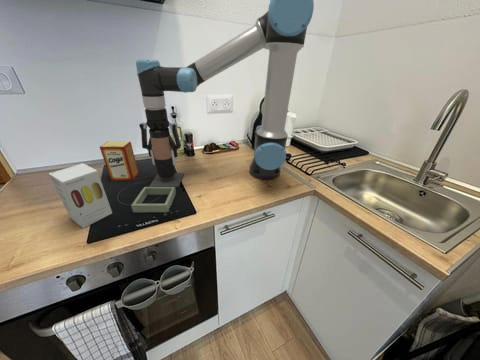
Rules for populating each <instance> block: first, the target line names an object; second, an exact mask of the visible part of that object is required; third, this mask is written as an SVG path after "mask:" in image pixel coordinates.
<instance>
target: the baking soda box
mask: <svg viewBox="0 0 480 360" xmlns="http://www.w3.org/2000/svg"><path fill="white" fill-rule="evenodd" d="M99 149H100V150H99V151H100V152H101V156H102V158H103V160H104V164H105V167H106V170H107V172H108V173H107V174H108V176H109V178H110V181H134V180H135V179H136V177H137V176H138V175H139V170H138V165H137V164H138V163H137V161H136V157H135V153H134V149H133V145H132V142H131V141H125V140H124V141H123V140H122V141H108V140H107V141H106V142H104V143H103V144H102V145H100V146H99Z"/></svg>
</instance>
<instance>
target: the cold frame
mask: <svg viewBox="0 0 480 360" xmlns="http://www.w3.org/2000/svg"><path fill="white" fill-rule="evenodd" d="M148 195H149V196H150V195H151V196H152V195H155V196H156V195H161V196H162V195H164V196H165V195H166V196H167V195H168V196H167V198H166V201H165V202H164V203H143V202H144V201H145V199H146V197H147V196H148ZM176 195H177V190H176V187H150V186H144V187H143V188H142V189H141V191H140V192H139V194H138V195H137V196H136V198H135V199H134V201H133V202H132V203H131V209H132V213H169V211H170V209H171V207H172V204H173V201H174V200H175V197H176ZM170 206H171V207H170ZM169 208H170V209H169Z"/></svg>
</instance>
